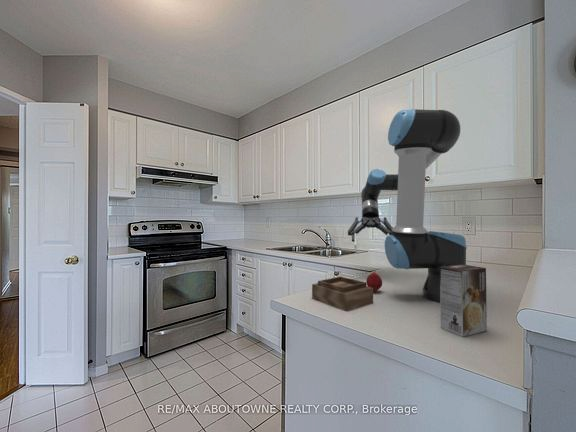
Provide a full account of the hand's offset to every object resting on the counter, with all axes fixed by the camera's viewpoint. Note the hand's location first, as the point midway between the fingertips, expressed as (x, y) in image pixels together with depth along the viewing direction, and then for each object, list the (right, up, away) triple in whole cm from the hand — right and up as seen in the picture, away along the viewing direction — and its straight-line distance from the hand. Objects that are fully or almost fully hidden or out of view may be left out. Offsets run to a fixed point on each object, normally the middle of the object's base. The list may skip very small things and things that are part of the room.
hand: (372, 247), depth 116 cm
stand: (-17, -16, -21) cm, 32 cm away
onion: (-2, -16, -11) cm, 19 cm away
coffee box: (+9, -16, -45) cm, 49 cm away
